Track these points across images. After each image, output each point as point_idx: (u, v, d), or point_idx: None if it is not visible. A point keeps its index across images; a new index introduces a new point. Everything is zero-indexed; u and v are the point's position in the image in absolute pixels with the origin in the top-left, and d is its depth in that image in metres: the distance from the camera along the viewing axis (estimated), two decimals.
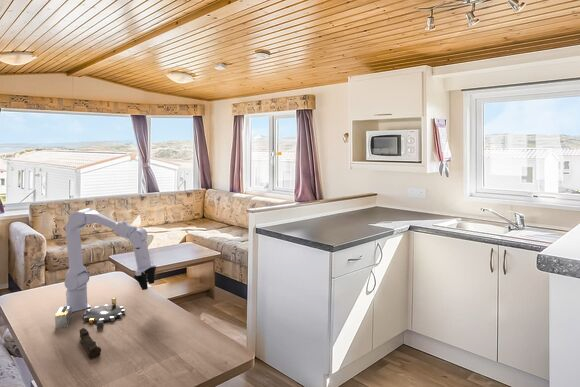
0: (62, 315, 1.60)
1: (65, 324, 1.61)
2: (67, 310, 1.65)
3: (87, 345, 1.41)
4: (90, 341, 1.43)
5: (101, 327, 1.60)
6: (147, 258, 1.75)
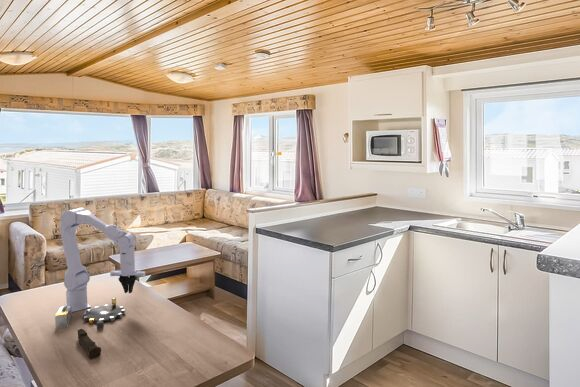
0: (62, 315, 1.60)
1: (65, 324, 1.61)
2: (67, 310, 1.66)
3: (87, 345, 1.41)
4: (89, 341, 1.43)
5: (101, 327, 1.60)
6: (122, 265, 1.73)
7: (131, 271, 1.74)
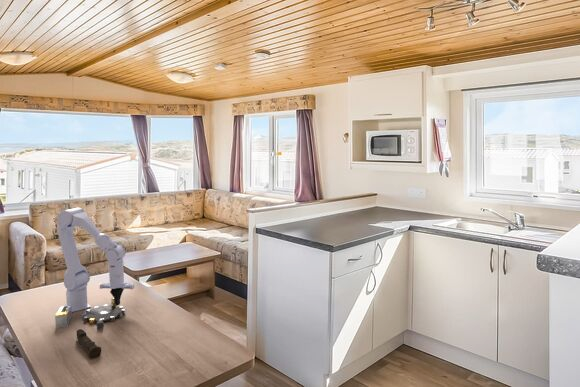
0: (62, 315, 1.60)
1: (66, 324, 1.61)
2: (67, 310, 1.66)
3: (87, 345, 1.41)
4: (89, 341, 1.43)
5: (101, 327, 1.60)
6: (111, 278, 1.73)
7: (120, 283, 1.75)
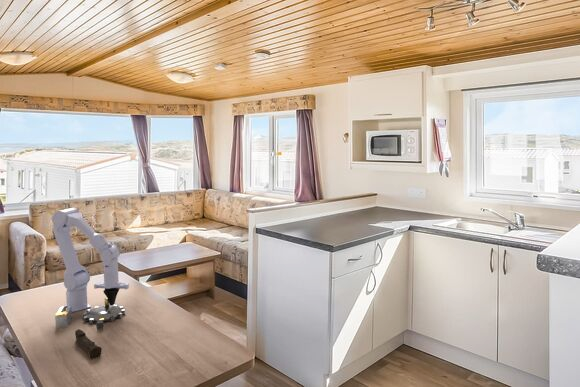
0: (62, 315, 1.61)
1: (66, 324, 1.61)
2: (67, 310, 1.66)
3: (87, 345, 1.40)
4: (89, 341, 1.43)
5: (101, 327, 1.60)
6: (105, 278, 1.73)
7: (114, 283, 1.75)
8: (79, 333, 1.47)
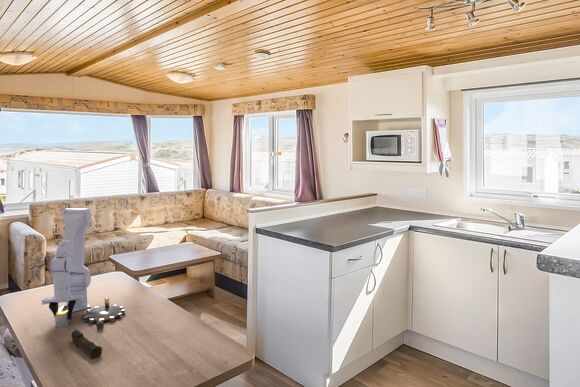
0: (62, 314, 1.61)
1: (65, 323, 1.61)
2: (67, 309, 1.66)
3: (86, 346, 1.40)
4: (88, 342, 1.42)
5: (101, 327, 1.60)
6: (57, 291, 1.61)
7: (68, 296, 1.63)
8: (76, 334, 1.46)
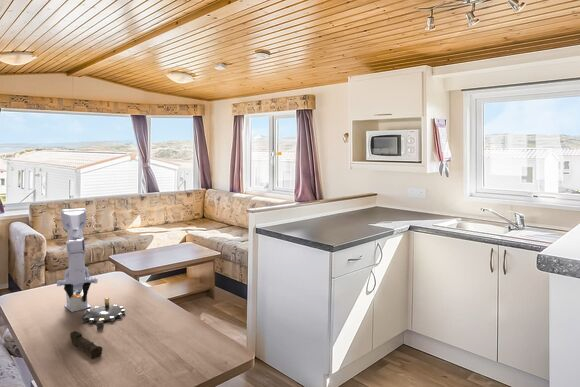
0: (77, 297, 1.61)
1: (80, 306, 1.62)
2: (82, 293, 1.66)
3: (86, 346, 1.40)
4: (88, 342, 1.42)
5: (101, 327, 1.60)
6: (72, 273, 1.61)
7: (82, 278, 1.63)
8: (75, 334, 1.46)
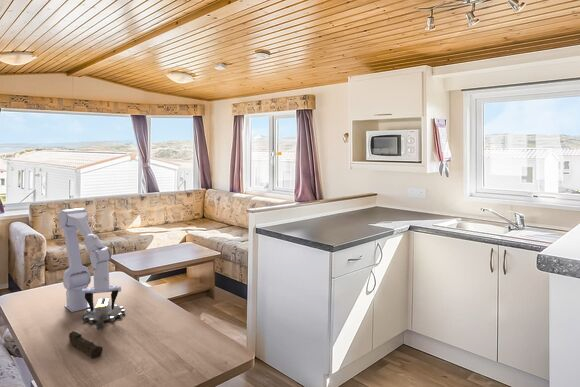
0: (102, 307, 1.64)
1: (105, 316, 1.65)
2: (106, 302, 1.69)
3: (86, 346, 1.40)
4: (87, 342, 1.42)
5: (101, 327, 1.60)
6: (97, 282, 1.64)
7: (107, 287, 1.66)
8: (74, 335, 1.46)
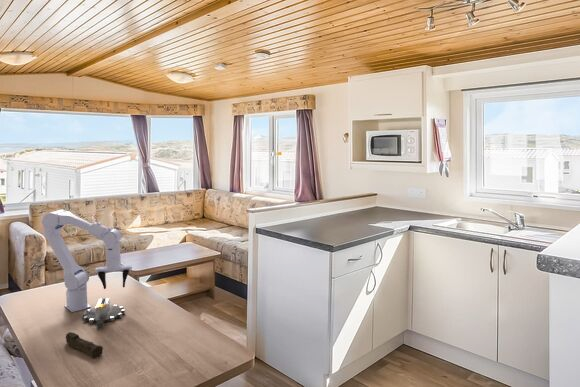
0: (102, 307, 1.64)
1: (105, 316, 1.65)
2: (106, 302, 1.69)
3: (86, 346, 1.40)
4: (86, 342, 1.42)
5: (101, 327, 1.60)
6: (109, 261, 1.75)
7: (119, 266, 1.77)
8: (72, 335, 1.45)
